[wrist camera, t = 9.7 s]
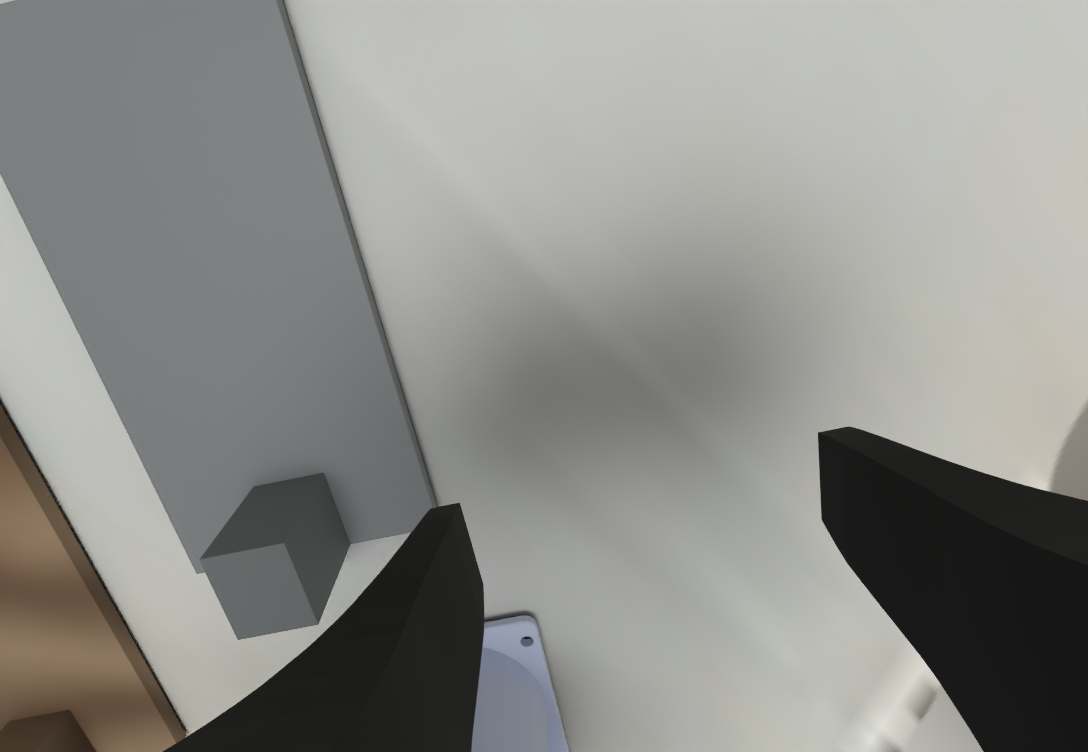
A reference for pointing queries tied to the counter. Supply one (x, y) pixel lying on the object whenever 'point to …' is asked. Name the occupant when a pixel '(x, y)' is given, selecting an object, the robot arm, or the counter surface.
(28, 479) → the walnut strip
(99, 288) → the charcoal strip
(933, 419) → the counter surface
